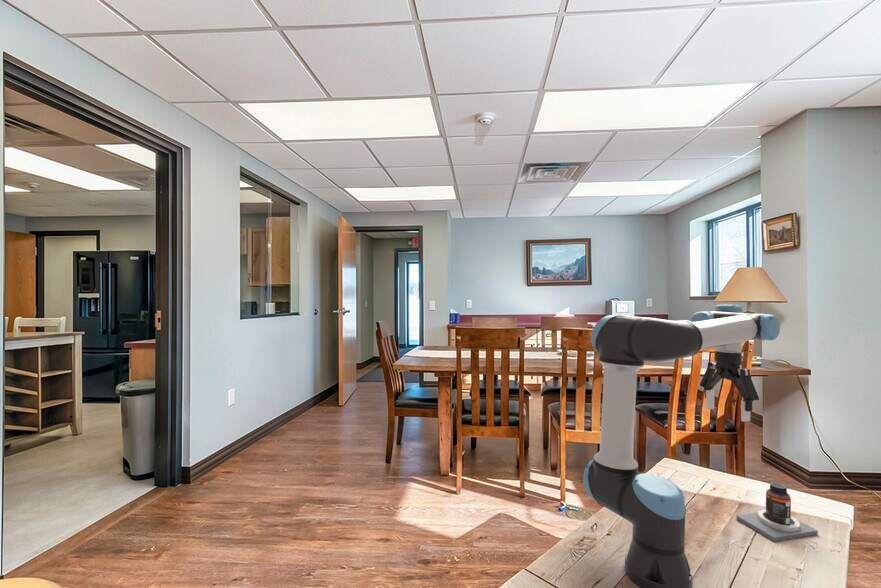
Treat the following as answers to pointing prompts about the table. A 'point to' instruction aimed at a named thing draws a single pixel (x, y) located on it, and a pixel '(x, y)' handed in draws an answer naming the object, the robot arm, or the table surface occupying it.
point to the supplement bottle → (778, 504)
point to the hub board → (776, 527)
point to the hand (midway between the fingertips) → (727, 414)
